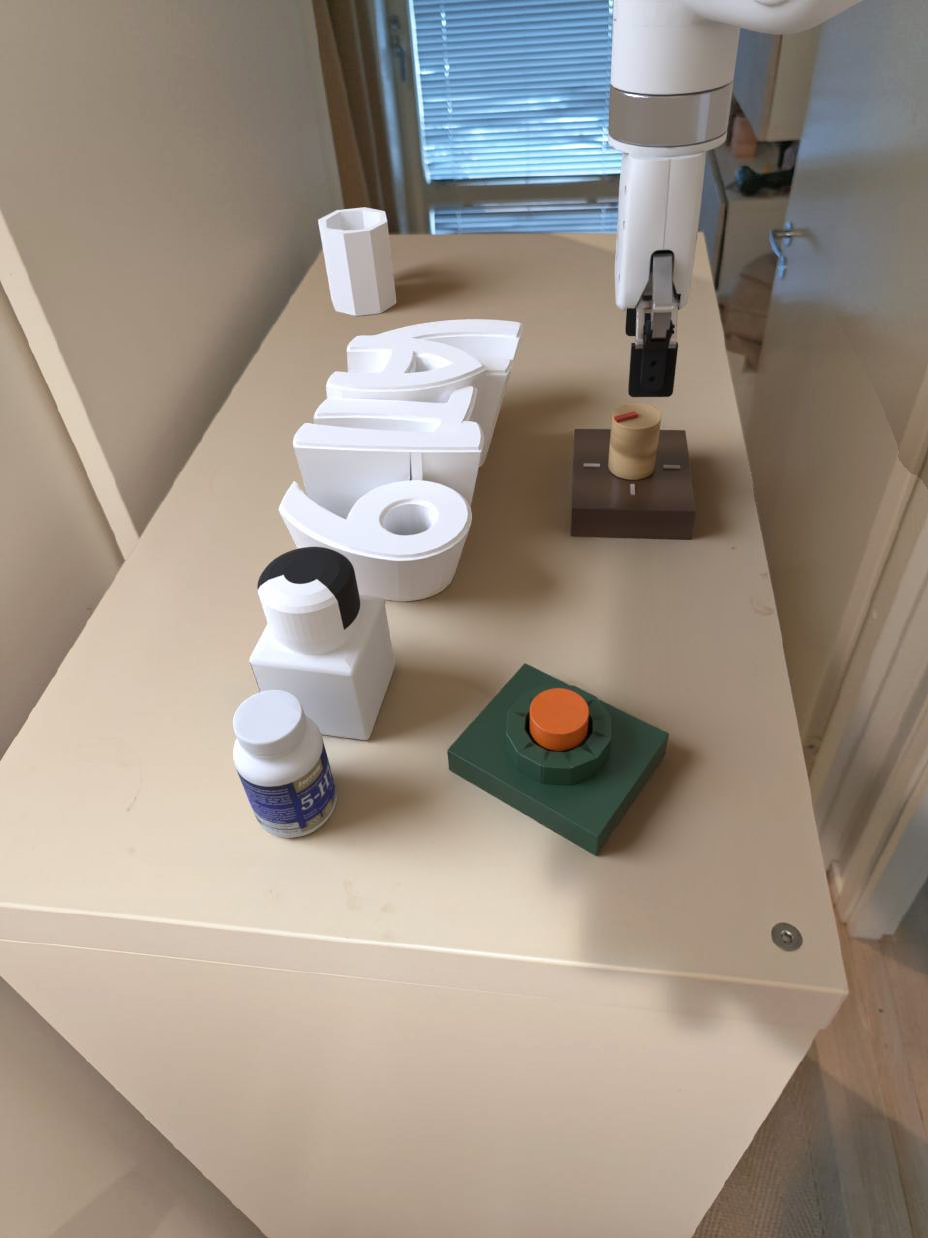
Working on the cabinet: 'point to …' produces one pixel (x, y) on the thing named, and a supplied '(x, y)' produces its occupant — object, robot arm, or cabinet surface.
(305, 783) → the pill bottle
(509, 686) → the green push button box
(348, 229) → the white octagonal cup
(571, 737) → the button
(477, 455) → the white lettered block
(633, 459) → the knob
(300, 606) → the block figurine
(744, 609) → the cabinet surface
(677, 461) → the hob panel
